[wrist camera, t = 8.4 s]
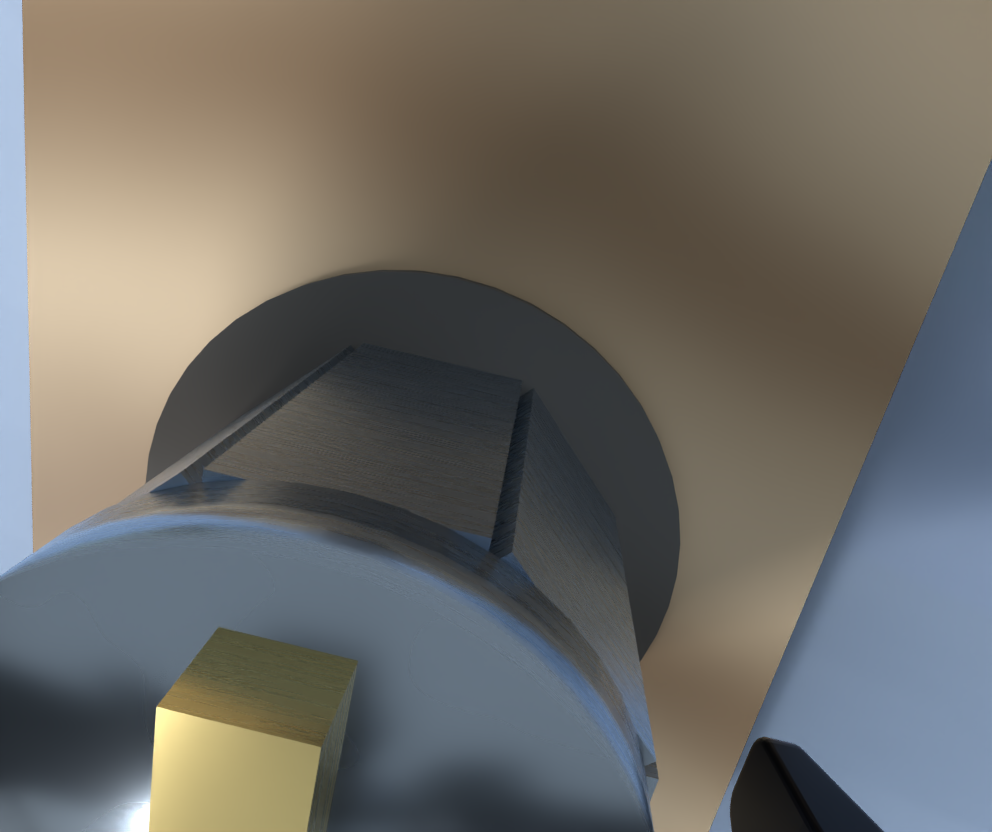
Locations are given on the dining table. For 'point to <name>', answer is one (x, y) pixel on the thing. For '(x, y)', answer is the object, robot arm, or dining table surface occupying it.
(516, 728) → the cap
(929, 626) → the dining table surface
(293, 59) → the board
